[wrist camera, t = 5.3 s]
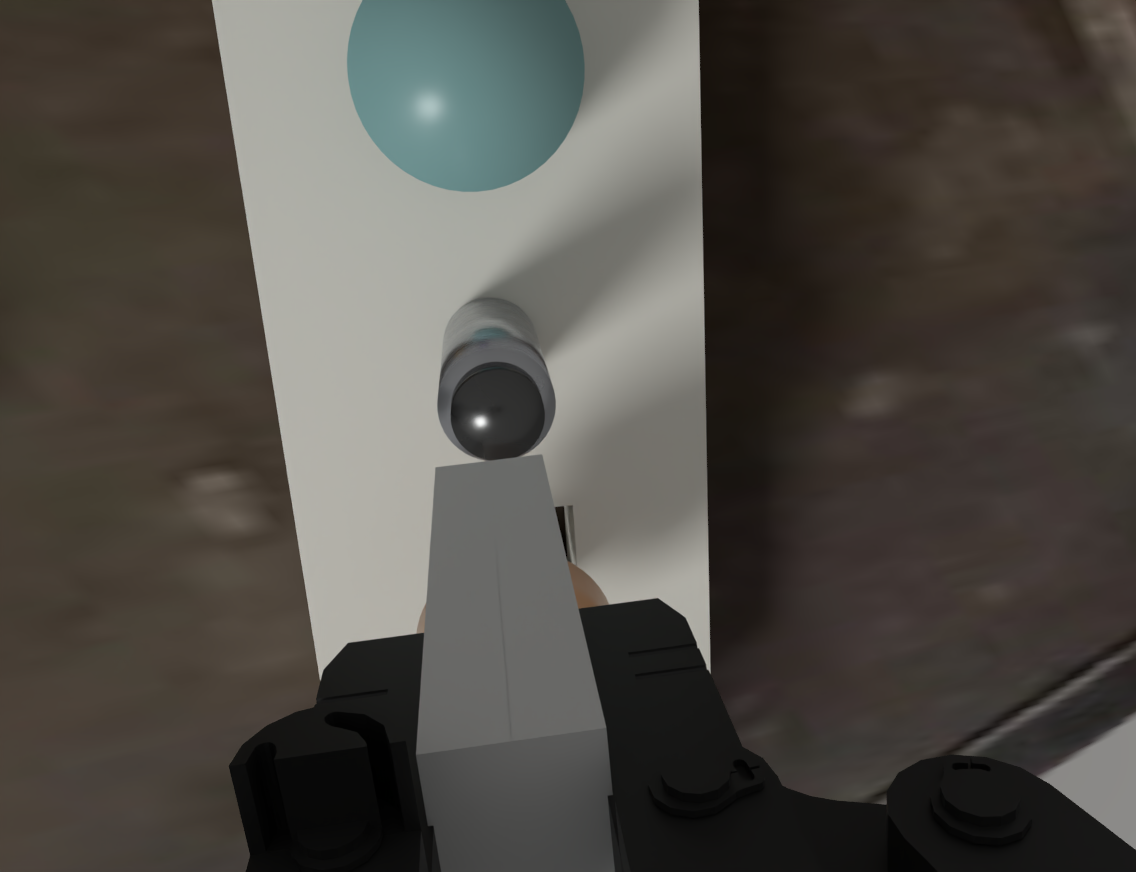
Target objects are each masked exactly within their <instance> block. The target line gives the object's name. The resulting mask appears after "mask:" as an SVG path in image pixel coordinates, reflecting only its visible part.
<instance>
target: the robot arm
mask: <svg viewBox="0 0 1136 872" xmlns="http://www.w3.org/2000/svg"><path fill="white" fill-rule="evenodd" d="M316 700H317V704H315V706H314V708H310V709H306V710H302V711H298V712H295V713H293V714H291V715H289V716H286V717H284V718H282V719H280V720H278V721H276V722H274V723H271V724H269V725H267V726H266V727H264V728H263V729H262V730H261V731H259V732H258V733H257V734H255V735H254V736H253V737H252V738H250V739H249V740H248V741H247V742H245V743H244V744H243V745H242V746H241V748H240V749H239V751H238V753H237V754H236V756H235V757H234V759H233V760H232V762H231V763H230V765H229V769H230V773H231V777H232V781H233V785H234V789H235V794H236V798H237V802H238V806H239V810H240V814H241V819H242V823H243V827H244V831H245V835H246V839H247V843H248V848H249V852H250V859H249V862H248V866H247V870H246V872H1136V850H1135V849H1134V848H1132V847H1131V846H1129V845H1128V844H1127V843H1126V842H1124V841H1123V840H1122V839H1121V838H1119V837H1118V836H1117V835H1115V834H1114V833H1113V832H1111V831H1110V830H1109V829H1108V828H1106V827H1105V826H1104V825H1102V824H1101V823H1100V822H1098V821H1097V820H1096V819H1095V818H1093V817H1092V816H1091V815H1089V814H1088V813H1087V812H1085V811H1084V810H1083V809H1082V808H1080V807H1079V806H1078V805H1076V804H1075V803H1074V802H1072V801H1071V800H1070V799H1069V798H1067V797H1066V796H1065V795H1063V794H1062V793H1061V792H1059V791H1058V790H1057V789H1056V788H1054V787H1053V786H1052V785H1050V784H1049V783H1047V782H1045V781H1043V780H1042V779H1040V778H1038V777H1036V776H1035V775H1033V774H1031V773H1029V772H1028V771H1026V770H1024V769H1022V768H1021V767H1017V766H1014V765H1011V764H1007V763H1004V762H1000V761H997V760H994V759H990V758H987V757H976V756H962V755H948V756H942V757H936V758H931V759H925V760H921V761H919V762H917V763H915V764H913V765H912V766H910V767H908V768H906V769H905V770H903V771H901V772H899V773H898V775H897V776H896V778H895V779H894V781H893V782H892V784H891V786H890V787H889V789H888V790H887V805H882V804H870V803H859V802H847V801H836V800H830V799H824V798H818V797H812V796H809V795H806V794H803V793H800V792H797V791H794V790H791V789H788V788H786V787H784V786H782V785H781V782H780V780H779V778H778V776H777V775H776V774H775V773H774V771H773V770H772V769H771V768H770V766H769V765H768V764H767V763H766V762H765V760H764V759H763V758H761V757H760V756H758V755H756V754H754V753H752V752H751V751H749V750H747V749H745V748H743V747H742V745H741V742H740V740H739V738H738V735H737V733H736V731H735V729H734V726H733V724H732V722H731V720H730V717H729V715H728V713H727V710H726V708H725V706H724V704H723V701H722V699H721V697H720V695H719V692H718V690H717V688H716V685H715V683H714V681H713V679H712V676H711V674H710V672H709V670H707V667H706V663H705V660H704V658H703V656H702V654H701V651H700V649H699V648H697V642H696V640H695V638H694V635H693V633H692V631H691V629H690V626H689V624H688V622H687V620H686V617H684V616H683V615H681V614H680V613H679V612H677V611H676V610H674V609H673V608H671V607H670V606H669V605H667V604H666V603H664V602H663V601H662V600H660V599H659V598H654V599H647V600H639V601H632V602H624V603H617V604H609V605H602V606H595V607H587V608H580V609H578V605H577V601H576V596H575V592H574V588H573V584H572V579H571V575H570V571H569V567H568V562H567V558H566V554H565V550H564V545H563V541H562V537H561V532H560V528H559V524H558V520H557V515H556V511H555V507H554V503H553V498H552V494H551V490H550V486H549V481H548V477H547V473H546V469H545V464H544V460H543V456H542V454H540V455H532V456H524V457H515V458H507V459H499V460H491V461H483V462H475V463H467V464H459V465H450V466H442V467H435V481H434V496H433V511H432V526H431V540H430V555H429V570H428V584H427V599H426V614H425V629H424V633H418V634H410V635H403V636H395V637H388V638H380V639H373V640H365V641H358V642H350V643H347V644H346V645H345V647H344V648H343V649H342V650H341V651H340V652H339V653H338V654H337V655H336V656H335V658H334V659H333V660H332V661H331V662H330V663H329V664H328V665H327V666H326V668H325V669H324V670H323V673H322V677H321V681H320V686H319V690H318V694H317V698H316Z"/></svg>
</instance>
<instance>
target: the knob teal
mask: <svg viewBox="0 0 1136 872" xmlns="http://www.w3.org/2000/svg"><path fill="white" fill-rule="evenodd" d="M347 72H348V81H349V87H350V92H351V96H352V99H353V103H354V106H355V109H356V111H357V114H358V116H359V118H360V120H361V122H362V125H363V126H364V128H365V130H366V131H367V133H368V134H369V136H370V138H371V139H372V141H373V142H374V143H375V144H376V146H377V147H378V148H379V149H380V151H381V152H382V153H383V154H384V155H385V156H386V157H387V158H388V159H389V160H390V161H392V162H393V163H394V164H395V165H396V166H398V167H399V168H400V169H402V170H403V171H404V172H406V173H408V174H409V175H411V176H413V177H415V178H416V179H418V180H420V181H423V182H425V183H427V184H430V185H432V186H435V187H439V188H443V189H447V190H453V191H461V192H479V191H487V190H493V189H497V188H500V187H504V186H507V185H510V184H512V183H514V182H517V181H519V180H521V179H523V178H524V177H526V176H528V175H529V174H531V173H533V172H534V171H535V170H537V169H538V168H539V167H540V166H542V165H543V164H544V163H545V162H546V161H547V160H548V159H549V158H550V157H551V156H552V155H553V154H554V153H555V152H556V151H557V149H558V148H559V147H560V145H561V144H562V143H563V141H564V140H565V138H566V137H567V135H568V133H569V131H570V129H571V128H572V126H573V123H574V121H575V118H576V116H577V113H578V111H579V107H580V103H581V99H582V95H583V87H584V79H585V62H584V53H583V46H582V42H581V38H580V33H579V30H578V27H577V25H576V22H575V19H574V17H573V14H572V12H571V11H570V9H569V7H568V5H567V3H566V1H565V0H362V2H361V4H360V6H359V8H358V10H357V13H356V15H355V18H354V21H353V24H352V27H351V32H350V37H349V42H348V52H347Z"/></svg>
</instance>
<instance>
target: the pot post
mask: <svg viewBox="0 0 1136 872" xmlns="http://www.w3.org/2000/svg"><path fill="white" fill-rule="evenodd" d="M555 410H556V399H555V393H554V389H553V386H552V382H551V379H550V376H549V373H548V369H547V366H546V363H545V360H544V356H543V353H542V350H541V347H540V344H539V340H538V337H537V334H536V331H535V328H534V325H533V323H532V321H531V320H530V318H529V317H528V316H527V314H526V313H525V312H524V311H523V310H522V309H521V308H519V307H518V306H517V305H515V304H513V303H511V302H509V301H507V300H504V299H500V298H480V299H477V300H473V301H471V302H469V303H467V304H465V305H464V306H462V307H461V308H460V309H458V310H457V311H456V312H455V313H454V315H453V316H452V317H451V319H450V320H449V322H448V324H447V326H446V329H445V332H444V337H443V347H442V358H441V368H440V379H439V389H438V400H437V411H438V417H439V421H440V424H441V426H442V428H443V431H444V433H445V434H446V436H447V437H448V439H449V440H450V441H451V442H452V443H453V444H454V445H455V446H456V447H457V448H458V449H460V450H461V451H462V452H464V453H466V454H467V455H469V456H471V457H474V458H477V459H480V460H484V461H491V460H499V459H507V458H515V457H521V456H523V455H525V454H527V453H528V452H530V451H531V450H533V449H534V448H535V447H537V446H538V445H539V444H540V443H541V442H542V440H543V439H544V438H545V437H546V435H547V433H548V432H549V430H550V428H551V426H552V423H553V420H554V416H555Z"/></svg>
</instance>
